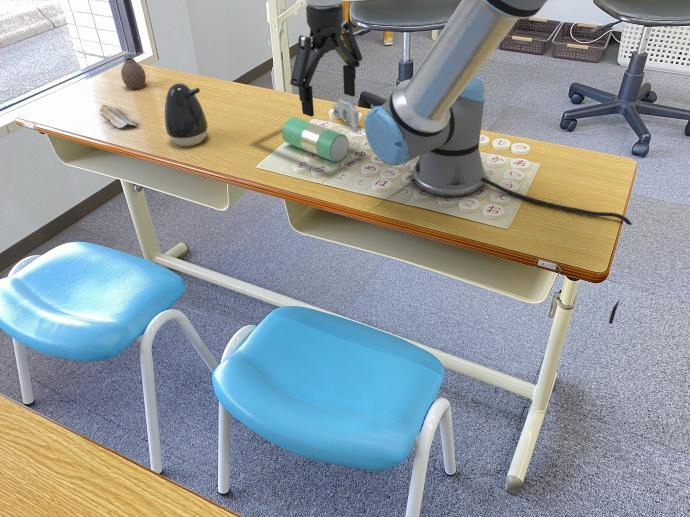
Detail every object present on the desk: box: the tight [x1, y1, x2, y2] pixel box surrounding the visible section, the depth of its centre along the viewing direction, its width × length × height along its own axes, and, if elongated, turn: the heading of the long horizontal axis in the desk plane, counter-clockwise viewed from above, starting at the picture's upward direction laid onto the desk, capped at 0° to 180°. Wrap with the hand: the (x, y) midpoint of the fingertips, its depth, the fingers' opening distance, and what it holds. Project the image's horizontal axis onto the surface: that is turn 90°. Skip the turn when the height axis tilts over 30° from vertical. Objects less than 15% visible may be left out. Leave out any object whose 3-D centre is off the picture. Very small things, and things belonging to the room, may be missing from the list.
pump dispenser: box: [164, 82, 209, 147], centre depth 145 cm, size 10×10×15 cm
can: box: [281, 116, 350, 163], centre depth 140 cm, size 16×7×7 cm, turn 49°
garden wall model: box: [332, 98, 361, 129], centre depth 154 cm, size 12×2×6 cm, turn 28°
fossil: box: [99, 104, 137, 129], centre depth 163 cm, size 18×3×4 cm
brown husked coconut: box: [120, 57, 147, 90], centre depth 179 cm, size 7×7×9 cm
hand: (329, 104), depth 131 cm, fingers open, 13 cm apart
